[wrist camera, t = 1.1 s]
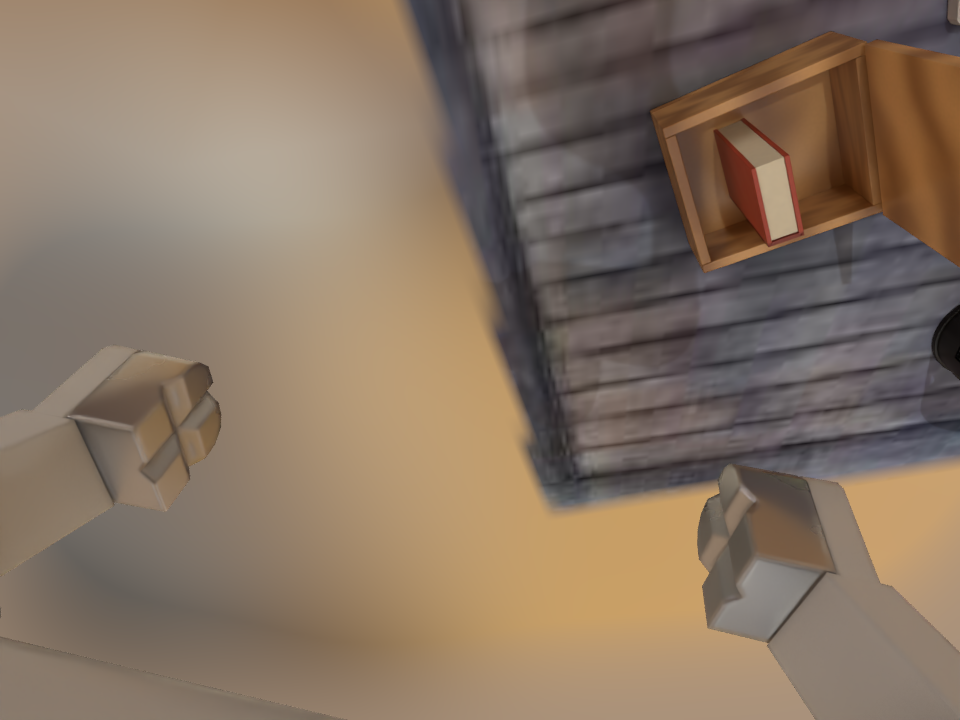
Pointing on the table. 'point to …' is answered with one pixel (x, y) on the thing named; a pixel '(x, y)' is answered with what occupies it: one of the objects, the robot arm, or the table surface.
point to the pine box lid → (918, 140)
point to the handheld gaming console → (954, 12)
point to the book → (760, 181)
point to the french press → (948, 342)
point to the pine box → (793, 127)
